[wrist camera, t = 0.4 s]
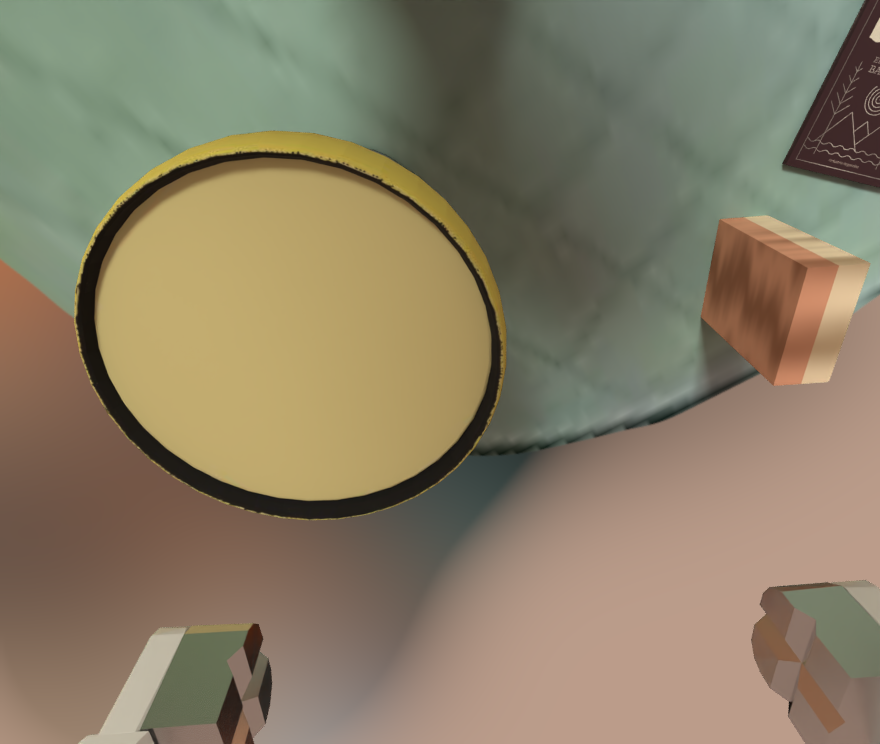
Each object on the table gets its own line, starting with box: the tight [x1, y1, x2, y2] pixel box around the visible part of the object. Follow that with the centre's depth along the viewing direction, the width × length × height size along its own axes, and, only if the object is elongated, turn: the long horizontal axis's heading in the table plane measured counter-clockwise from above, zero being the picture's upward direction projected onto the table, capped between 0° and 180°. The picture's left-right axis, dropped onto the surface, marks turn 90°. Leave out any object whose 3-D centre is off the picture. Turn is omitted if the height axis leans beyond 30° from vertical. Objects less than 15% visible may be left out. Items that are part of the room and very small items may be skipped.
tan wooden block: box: [701, 216, 870, 386], centre depth 42 cm, size 9×4×12 cm, turn 4°
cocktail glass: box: [74, 131, 506, 520], centre depth 33 cm, size 18×18×25 cm
